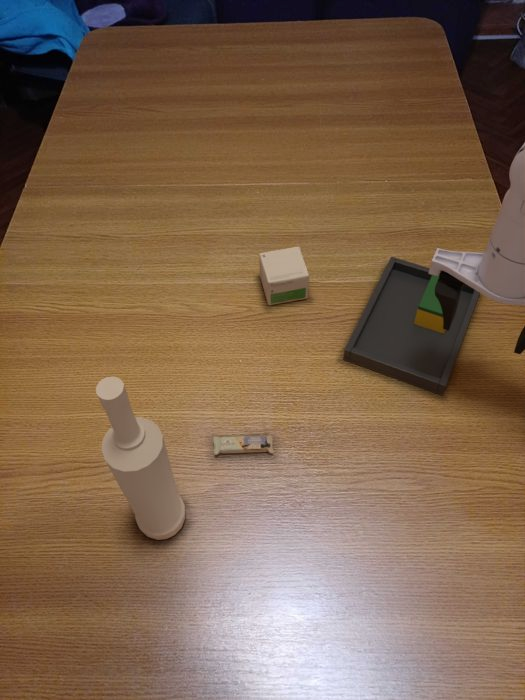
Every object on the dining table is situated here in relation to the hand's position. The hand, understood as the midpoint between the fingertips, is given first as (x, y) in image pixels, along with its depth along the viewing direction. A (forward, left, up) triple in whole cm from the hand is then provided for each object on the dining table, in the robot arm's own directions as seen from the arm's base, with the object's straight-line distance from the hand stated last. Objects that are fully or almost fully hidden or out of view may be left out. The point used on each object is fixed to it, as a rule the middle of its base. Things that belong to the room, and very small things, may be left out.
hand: (483, 334), depth 67 cm
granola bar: (+20, +19, -9) cm, 29 cm away
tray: (+8, -6, -9) cm, 14 cm away
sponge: (+6, -9, -9) cm, 14 cm away
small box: (+26, -5, -10) cm, 28 cm away
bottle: (+24, +30, -10) cm, 40 cm away
